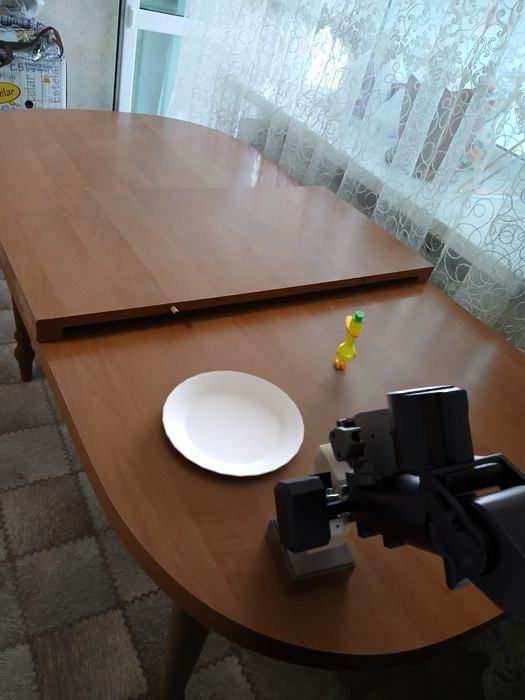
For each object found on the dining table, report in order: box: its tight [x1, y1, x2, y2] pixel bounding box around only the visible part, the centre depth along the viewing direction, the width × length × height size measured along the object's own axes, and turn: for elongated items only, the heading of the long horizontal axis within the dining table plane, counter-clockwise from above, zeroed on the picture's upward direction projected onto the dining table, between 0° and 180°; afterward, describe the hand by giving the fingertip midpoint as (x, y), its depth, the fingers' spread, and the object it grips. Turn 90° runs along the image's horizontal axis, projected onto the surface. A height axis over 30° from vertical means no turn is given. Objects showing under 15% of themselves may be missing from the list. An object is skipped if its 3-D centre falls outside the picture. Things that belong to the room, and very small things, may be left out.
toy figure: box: [334, 310, 366, 370], centre depth 94 cm, size 7×4×12 cm, turn 1°
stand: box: [264, 517, 357, 597], centre depth 65 cm, size 8×8×4 cm
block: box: [307, 443, 355, 554], centre depth 59 cm, size 5×5×13 cm
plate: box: [161, 370, 305, 477], centre depth 80 cm, size 21×21×2 cm
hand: (326, 487), depth 60 cm, fingers closed on block, 4 cm apart
